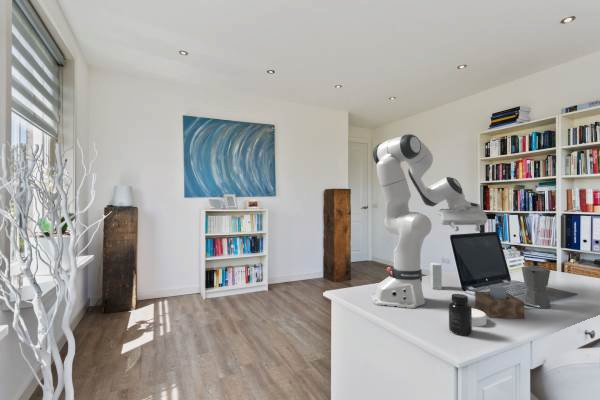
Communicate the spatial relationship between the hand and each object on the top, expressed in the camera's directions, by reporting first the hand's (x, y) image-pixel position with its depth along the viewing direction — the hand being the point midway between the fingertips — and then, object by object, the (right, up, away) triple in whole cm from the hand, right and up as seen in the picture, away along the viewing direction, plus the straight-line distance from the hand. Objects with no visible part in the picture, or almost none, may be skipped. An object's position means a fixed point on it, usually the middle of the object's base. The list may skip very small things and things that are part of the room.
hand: (467, 230), depth 142 cm
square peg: (-1, -28, -23) cm, 37 cm away
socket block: (-1, -29, -23) cm, 38 cm away
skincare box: (-10, -30, +10) cm, 33 cm away
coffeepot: (+20, -29, -16) cm, 39 cm away
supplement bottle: (-25, -30, -40) cm, 56 cm away
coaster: (-16, -30, -31) cm, 46 cm away
